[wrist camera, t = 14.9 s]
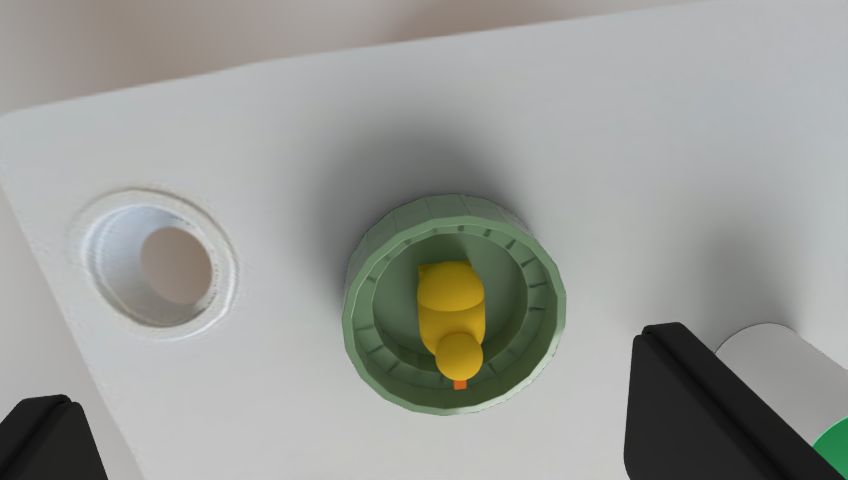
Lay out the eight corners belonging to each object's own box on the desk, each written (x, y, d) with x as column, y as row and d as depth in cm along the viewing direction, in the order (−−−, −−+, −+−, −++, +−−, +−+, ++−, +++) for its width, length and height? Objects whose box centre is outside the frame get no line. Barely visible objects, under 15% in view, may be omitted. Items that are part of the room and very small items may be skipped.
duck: (411, 251, 38) (421, 297, 32) (475, 245, 39) (498, 289, 33) (418, 349, 41) (429, 407, 35) (478, 342, 42) (499, 399, 36)
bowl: (332, 201, 37) (329, 228, 33) (544, 182, 38) (570, 205, 34) (355, 382, 43) (355, 427, 38) (540, 360, 44) (562, 401, 39)
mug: (655, 416, 47) (732, 520, 37) (667, 331, 44) (754, 420, 34) (790, 403, 48) (899, 499, 38) (812, 319, 45) (935, 401, 35)
